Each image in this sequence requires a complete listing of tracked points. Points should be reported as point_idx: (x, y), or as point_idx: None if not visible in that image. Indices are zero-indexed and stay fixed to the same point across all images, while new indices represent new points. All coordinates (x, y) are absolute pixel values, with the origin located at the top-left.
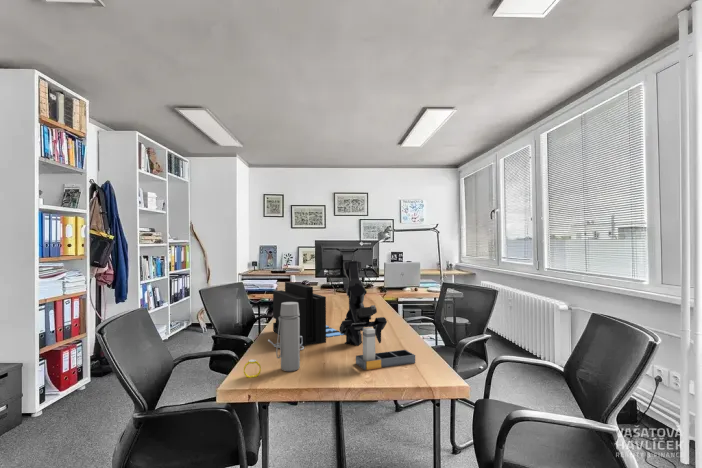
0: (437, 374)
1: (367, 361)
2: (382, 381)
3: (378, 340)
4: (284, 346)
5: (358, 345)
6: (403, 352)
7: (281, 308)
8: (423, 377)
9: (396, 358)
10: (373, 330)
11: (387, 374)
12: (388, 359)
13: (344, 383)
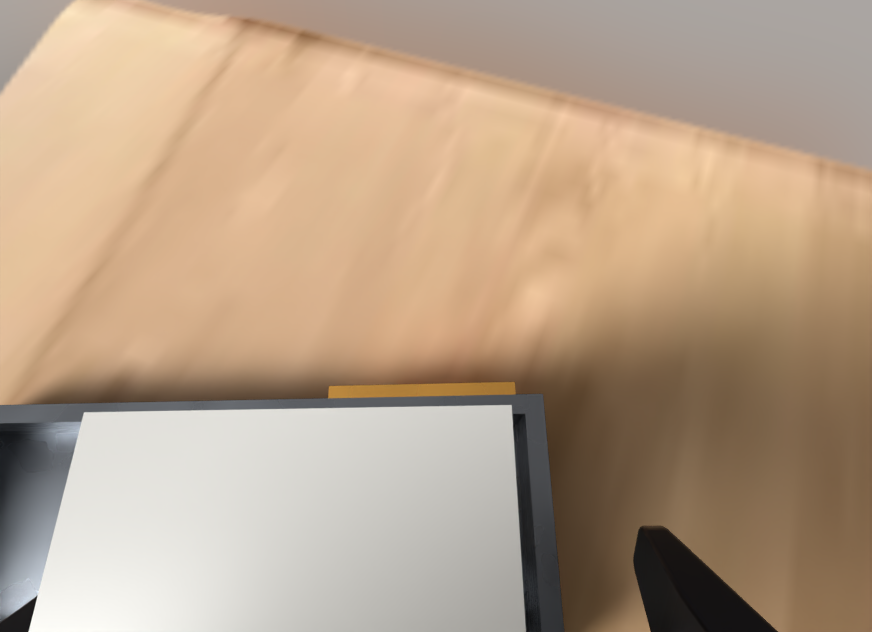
0: (48, 163)
1: (500, 389)
2: (469, 165)
3: None
4: None
5: (642, 545)
6: None
7: None
8: (170, 146)
9: (135, 403)
10: (187, 416)
11: (366, 275)
12: (233, 402)
13: (765, 212)
